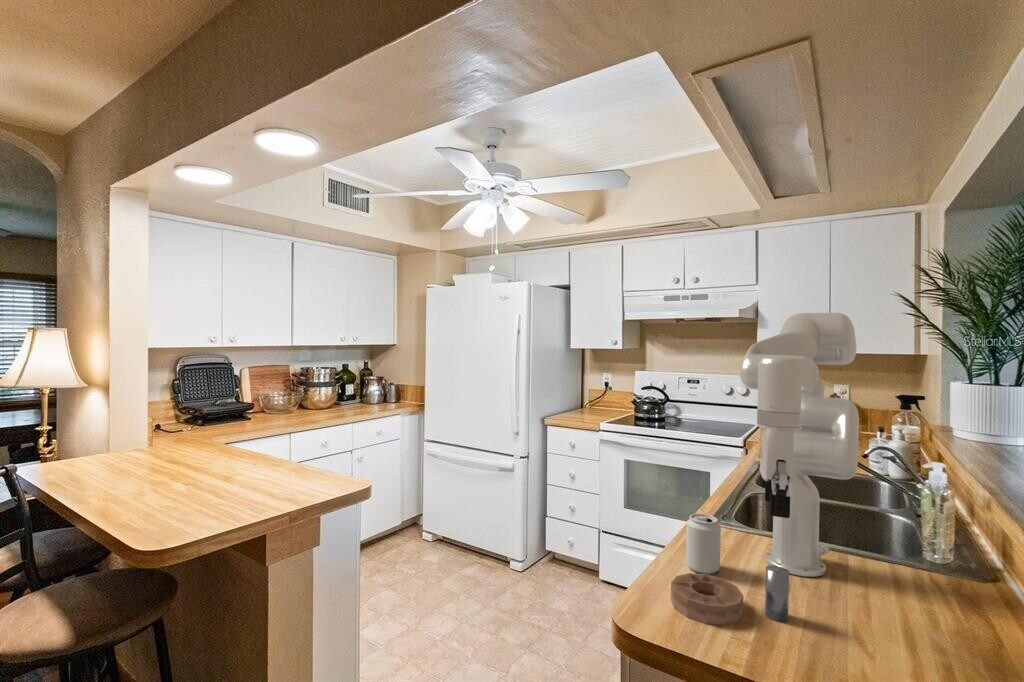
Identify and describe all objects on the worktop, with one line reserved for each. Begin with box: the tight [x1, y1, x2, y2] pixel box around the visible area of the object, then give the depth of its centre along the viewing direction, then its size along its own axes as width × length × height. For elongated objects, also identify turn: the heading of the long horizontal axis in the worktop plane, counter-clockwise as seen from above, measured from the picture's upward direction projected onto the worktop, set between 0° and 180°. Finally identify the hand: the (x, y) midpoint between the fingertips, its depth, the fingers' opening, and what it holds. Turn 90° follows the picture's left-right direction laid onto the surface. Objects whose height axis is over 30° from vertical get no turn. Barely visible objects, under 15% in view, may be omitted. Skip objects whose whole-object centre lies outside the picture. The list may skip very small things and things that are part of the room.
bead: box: [670, 572, 744, 626], centre depth 100 cm, size 13×13×4 cm
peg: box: [764, 564, 790, 623], centre depth 97 cm, size 4×4×9 cm
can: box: [685, 513, 722, 575], centre depth 117 cm, size 8×8×12 cm
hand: (776, 508), depth 97 cm, fingers open, 9 cm apart
